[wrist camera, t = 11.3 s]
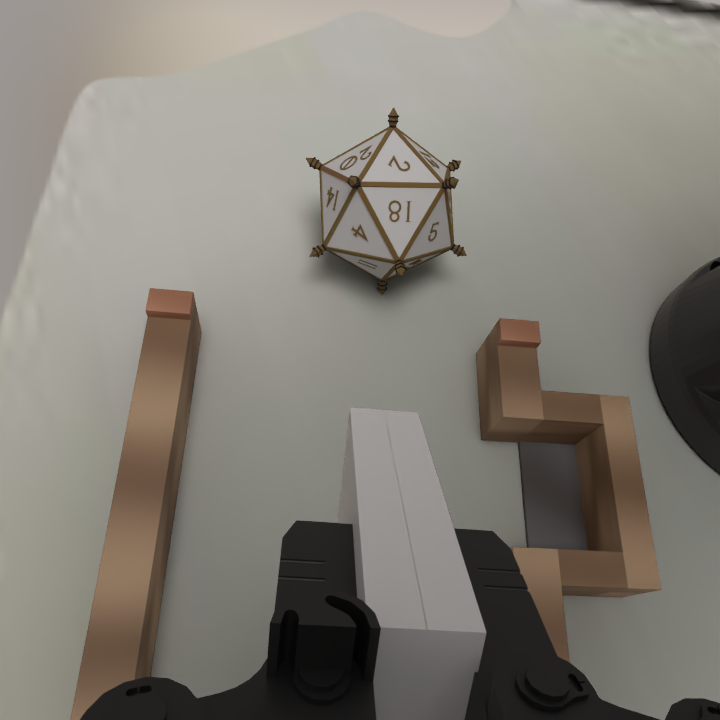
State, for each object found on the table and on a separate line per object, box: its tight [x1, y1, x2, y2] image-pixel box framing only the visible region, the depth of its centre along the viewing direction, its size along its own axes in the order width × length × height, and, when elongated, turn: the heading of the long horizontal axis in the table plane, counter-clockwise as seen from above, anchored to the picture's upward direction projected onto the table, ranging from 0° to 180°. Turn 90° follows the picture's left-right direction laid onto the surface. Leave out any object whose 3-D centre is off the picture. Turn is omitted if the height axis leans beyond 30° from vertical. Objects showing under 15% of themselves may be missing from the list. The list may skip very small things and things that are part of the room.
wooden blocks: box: [70, 288, 661, 720], centre depth 29 cm, size 18×24×4 cm
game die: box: [306, 108, 467, 295], centre depth 34 cm, size 9×8×10 cm
